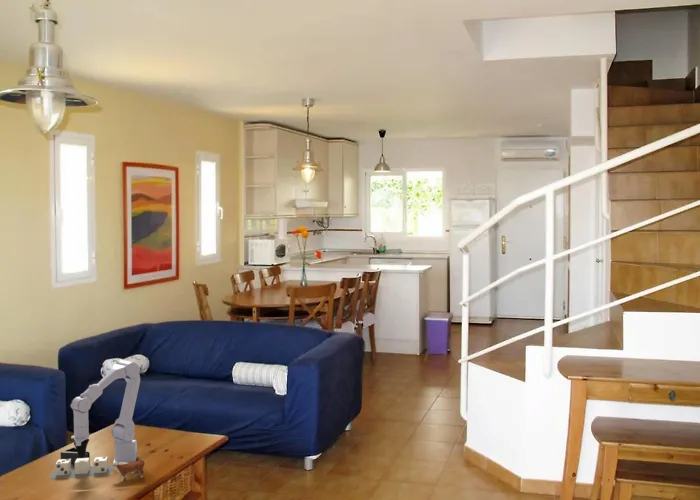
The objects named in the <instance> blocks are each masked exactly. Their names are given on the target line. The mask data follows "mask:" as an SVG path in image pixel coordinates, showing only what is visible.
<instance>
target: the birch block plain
mask: <svg viewBox="0 0 700 500" xmlns="http://www.w3.org/2000/svg"><path fill="white" fill-rule="evenodd" d="M90 465H91V462H90V463H89V458H77V459H76V461H75V465H74V467H75V474H88V472H89V470H90Z"/></svg>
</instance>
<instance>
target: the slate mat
mask: <svg viewBox="0 0 700 500" xmlns="http://www.w3.org/2000/svg"><path fill="white" fill-rule="evenodd" d="M112 465H113V464H108V469H107V472H103V473H94V465H91V466H90V470H89V472H88V474H75V466H74V467H71V472H70V473H69V475H56V468H55V469H54V470H53V472H52V473H51V475H50V476H49V478H48V480H56V479H69V478H70V479H72V478H85V477H86V478H87V477H88V478H89V477H101V476H102V477H103V476H110V475H111V473H112V470H113V469H111V466H112Z"/></svg>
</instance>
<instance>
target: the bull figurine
mask: <svg viewBox="0 0 700 500" xmlns="http://www.w3.org/2000/svg"><path fill="white" fill-rule="evenodd" d="M145 464H146V463H145V461H144V460H142V459H141V460H136V461H135V462H115V463H113V464H111V465H112V466H111V469H112V470H114V471H116V472H117V474H119V475H120V476H122V477H121V482H123V481H125V479H126V475H127V474H131V475H134V477H138V475H140V478H143V477H144V467H145ZM134 473H135V474H134Z"/></svg>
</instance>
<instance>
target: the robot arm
mask: <svg viewBox="0 0 700 500" xmlns="http://www.w3.org/2000/svg"><path fill="white" fill-rule="evenodd" d="M140 370H141V367H140V366H139V364H138V363H137V362H134V361H133V362H132V361H128V360H124V359H119V360H118V361H116V362H115V363H114V364H113V365H112V367H111V369H110V370H109V371H108V372H107V373H106V374H105V375H104V377H102V378H101V379H100V381H98V382H97V383H92V384H89V386H88V388H87V389H86V390H85V391H83V393H80V395H79V396H75V398H73V399H72V400H71V403H70V408H71V409H72V411H73V412H72V413H73V435H71V437H70V438H71V440H72V439H73V440H74V442H73V445H74V447H76V449H77V452H78V456H79V458H84V457H85V454H86V451H87V447H88V445H89V443H90V442H89V441H90V439H89V438H90V433H89V431H90V430H89V429H90V428H89V410H90V409H91V407H92V404H93V403H94V402H95V401H96V400H97V399H98V398H99V397H100V396H102V395H103V392H104V391H103V390H104V389H105V388H106V387H108V386H109V385H111V384H112V383H113V382H114V381H115V380H116V379H119V378H123V379H124V380H125V382H126V386H125V391H124V395H123V400H122V405H121V409H120V413H119V416H118V418H117V419H116V420H115V422H114V424H113V426H112V427H111V430H110V434H111V436H112V437H113V440H114V459H113V462H112V463H113V464H114V463H115V462H119V463H120V462H123V463H129V462H135V461H137V457H138V443H137V442H138V441H137V439H134V437H135V433H136V432H135V431H136V430H135V427H136V425H135V423H134V421H133V416H134V412H135V407H136V402H137V398H138V393H139V388H140V384H141V375H140Z"/></svg>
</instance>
